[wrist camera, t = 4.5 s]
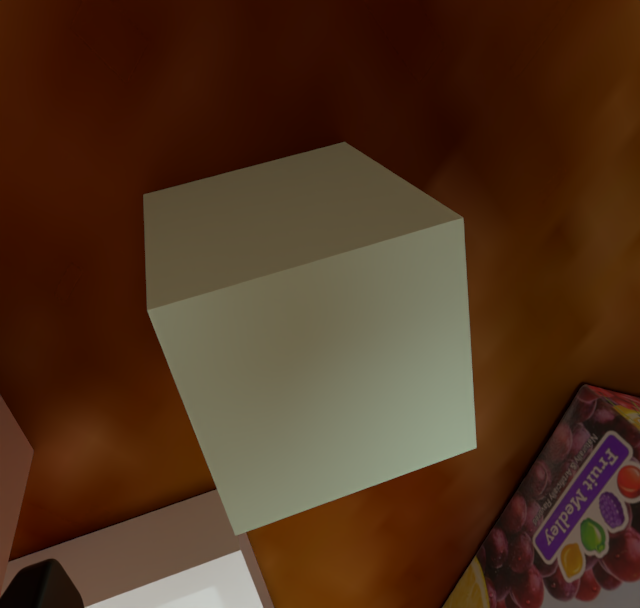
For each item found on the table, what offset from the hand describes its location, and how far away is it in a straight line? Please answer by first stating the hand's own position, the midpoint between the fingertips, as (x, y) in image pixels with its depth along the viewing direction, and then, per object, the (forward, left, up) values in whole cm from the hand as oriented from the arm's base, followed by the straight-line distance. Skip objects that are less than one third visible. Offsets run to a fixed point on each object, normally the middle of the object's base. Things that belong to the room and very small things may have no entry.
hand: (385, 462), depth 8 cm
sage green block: (0, 0, -8) cm, 8 cm away
